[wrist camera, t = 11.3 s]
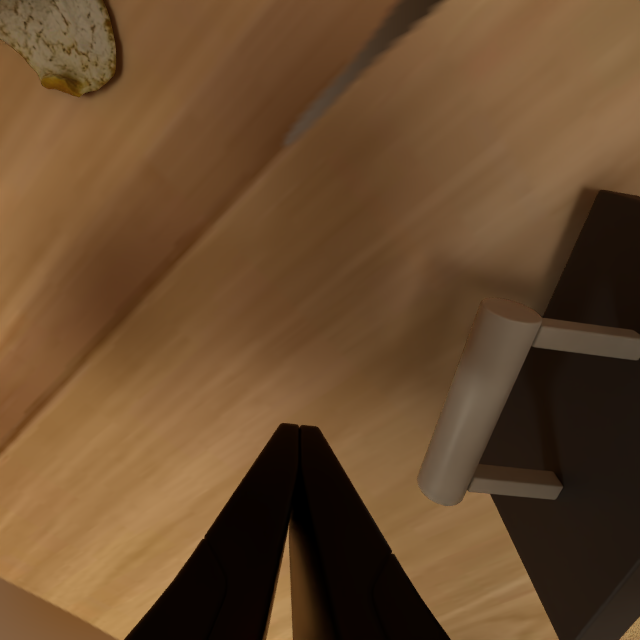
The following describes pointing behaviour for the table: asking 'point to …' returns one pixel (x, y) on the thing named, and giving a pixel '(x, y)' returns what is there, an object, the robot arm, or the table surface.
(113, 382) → the table surface
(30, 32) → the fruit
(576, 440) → the drawer
